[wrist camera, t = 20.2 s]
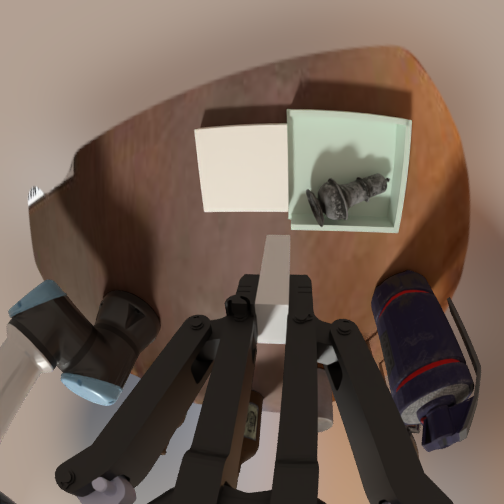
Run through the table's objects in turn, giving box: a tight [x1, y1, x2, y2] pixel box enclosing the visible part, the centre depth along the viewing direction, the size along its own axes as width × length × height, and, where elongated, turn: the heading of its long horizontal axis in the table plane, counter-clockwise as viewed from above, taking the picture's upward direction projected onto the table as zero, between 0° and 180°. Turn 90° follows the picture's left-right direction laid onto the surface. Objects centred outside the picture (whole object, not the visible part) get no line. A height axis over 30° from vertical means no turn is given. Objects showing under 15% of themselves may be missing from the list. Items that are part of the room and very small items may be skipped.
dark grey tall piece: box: [306, 173, 390, 227], centre depth 34 cm, size 6×6×12 cm
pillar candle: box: [317, 368, 333, 432], centre depth 55 cm, size 10×10×15 cm
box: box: [287, 109, 412, 233], centre depth 34 cm, size 16×16×4 cm
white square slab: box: [195, 123, 289, 212], centre depth 36 cm, size 12×12×2 cm
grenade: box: [371, 270, 481, 452], centre depth 32 cm, size 14×12×30 cm
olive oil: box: [238, 390, 263, 476], centre depth 60 cm, size 11×11×25 cm
